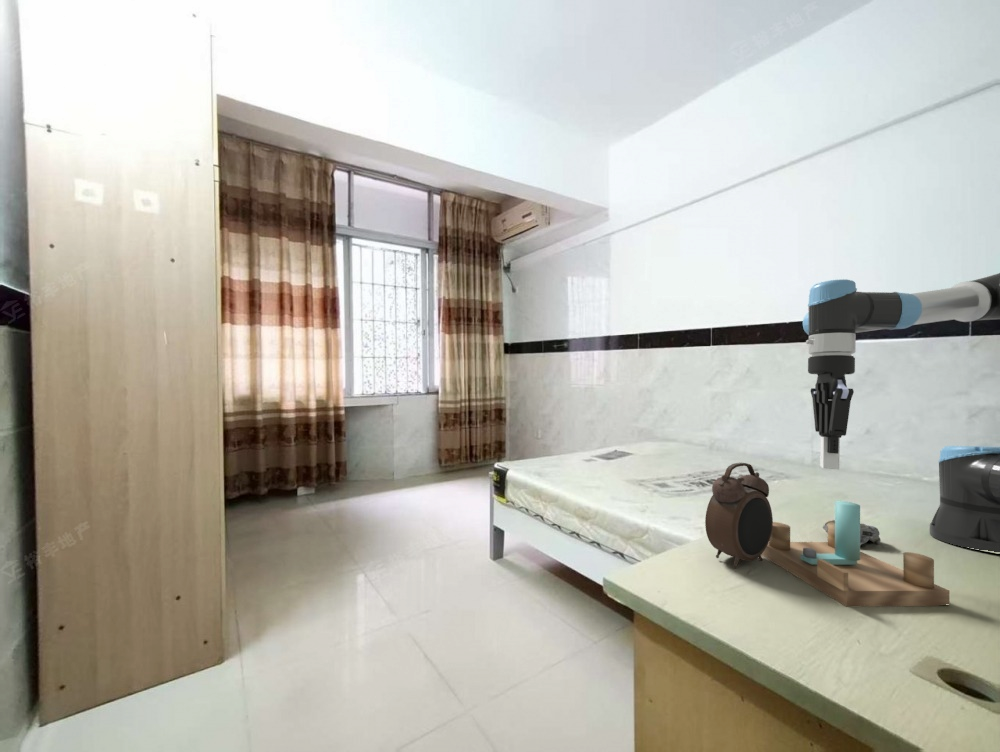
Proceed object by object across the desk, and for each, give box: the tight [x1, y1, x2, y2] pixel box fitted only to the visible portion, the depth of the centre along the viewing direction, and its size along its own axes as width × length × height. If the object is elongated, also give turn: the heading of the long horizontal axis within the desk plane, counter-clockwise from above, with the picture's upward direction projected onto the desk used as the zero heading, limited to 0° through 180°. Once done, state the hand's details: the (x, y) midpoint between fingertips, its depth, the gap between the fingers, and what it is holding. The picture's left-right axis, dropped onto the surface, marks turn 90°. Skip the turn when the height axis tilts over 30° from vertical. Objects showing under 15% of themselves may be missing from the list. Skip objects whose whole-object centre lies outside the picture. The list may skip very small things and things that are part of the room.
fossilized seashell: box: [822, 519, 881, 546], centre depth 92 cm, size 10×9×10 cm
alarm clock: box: [704, 462, 774, 569], centre depth 80 cm, size 14×7×20 cm, turn 117°
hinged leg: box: [801, 500, 861, 565], centre depth 75 cm, size 4×10×11 cm, turn 93°
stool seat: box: [761, 521, 951, 608], centre depth 75 cm, size 18×20×7 cm
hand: (829, 468), depth 81 cm, fingers closed
